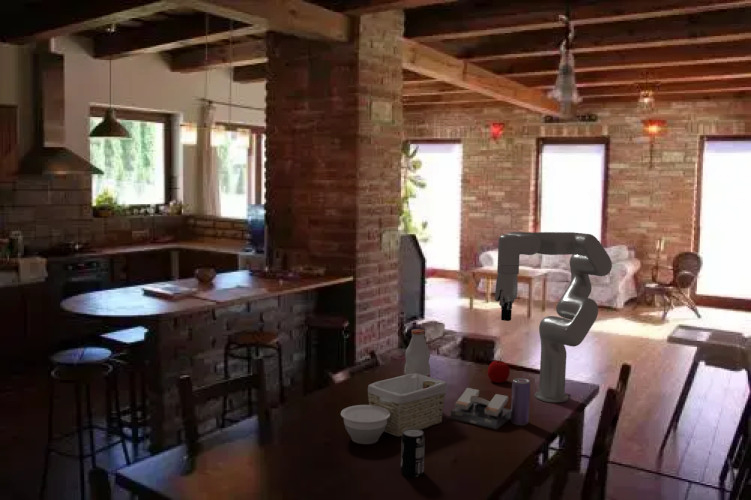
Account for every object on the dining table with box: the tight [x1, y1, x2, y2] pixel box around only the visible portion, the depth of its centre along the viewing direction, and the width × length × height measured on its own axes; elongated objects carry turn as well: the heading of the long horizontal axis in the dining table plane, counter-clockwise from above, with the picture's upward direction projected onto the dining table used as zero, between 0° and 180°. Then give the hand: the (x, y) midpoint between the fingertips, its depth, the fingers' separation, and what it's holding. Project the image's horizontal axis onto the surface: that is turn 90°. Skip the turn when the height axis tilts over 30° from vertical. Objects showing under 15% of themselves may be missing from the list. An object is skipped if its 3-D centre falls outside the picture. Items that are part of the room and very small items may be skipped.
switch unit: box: [450, 402, 511, 430], centre depth 239 cm, size 13×17×5 cm
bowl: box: [340, 404, 390, 445], centre depth 219 cm, size 16×16×9 cm
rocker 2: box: [470, 396, 491, 406], centre depth 239 cm, size 10×4×2 cm, turn 147°
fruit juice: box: [403, 328, 431, 389], centre depth 251 cm, size 9×9×28 cm
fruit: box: [486, 357, 511, 384], centre depth 282 cm, size 9×9×10 cm
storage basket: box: [367, 373, 448, 437], centre depth 231 cm, size 24×16×15 cm
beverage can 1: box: [400, 428, 426, 478], centre depth 194 cm, size 7×7×12 cm
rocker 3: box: [484, 393, 509, 416], centre depth 236 cm, size 10×4×2 cm, turn 146°
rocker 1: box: [454, 387, 480, 410], centre depth 242 cm, size 10×4×2 cm, turn 146°
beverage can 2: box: [510, 377, 531, 426], centre depth 235 cm, size 6×6×15 cm
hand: (506, 320), depth 245 cm, fingers closed
